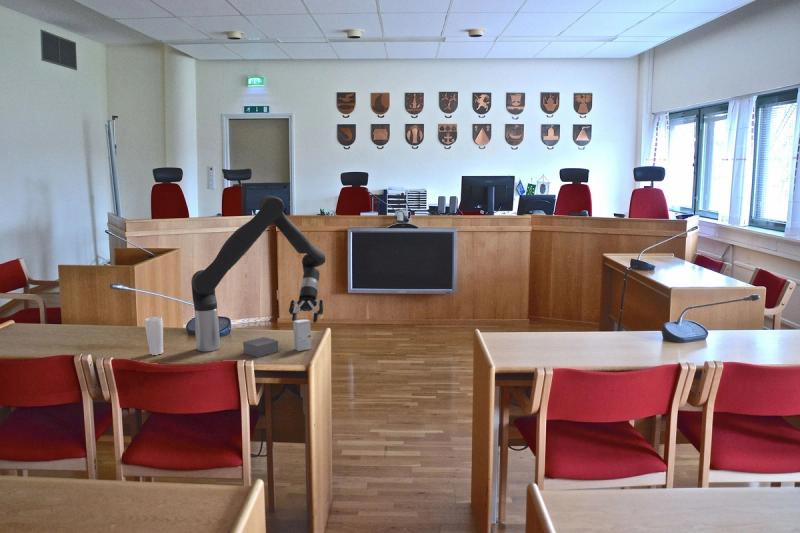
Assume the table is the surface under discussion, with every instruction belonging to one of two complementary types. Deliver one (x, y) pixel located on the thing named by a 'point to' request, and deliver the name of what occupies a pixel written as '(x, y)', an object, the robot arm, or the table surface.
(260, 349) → the charcoal block
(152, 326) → the drinking glass
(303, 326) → the skincare box
